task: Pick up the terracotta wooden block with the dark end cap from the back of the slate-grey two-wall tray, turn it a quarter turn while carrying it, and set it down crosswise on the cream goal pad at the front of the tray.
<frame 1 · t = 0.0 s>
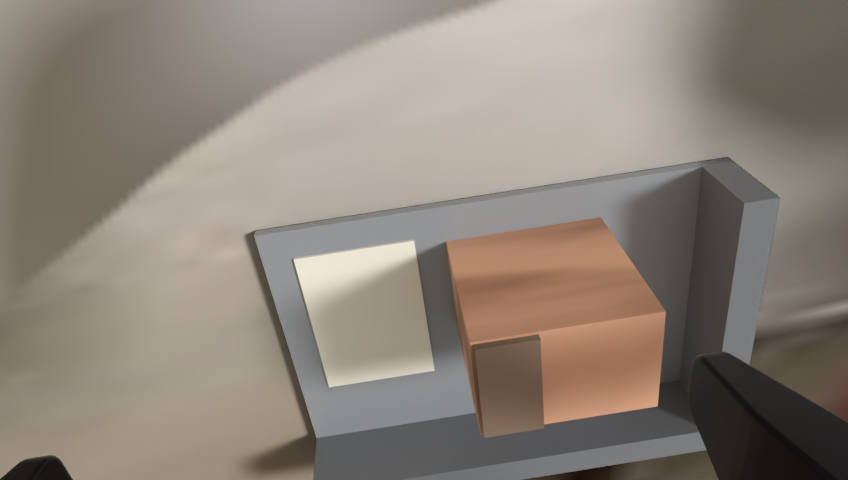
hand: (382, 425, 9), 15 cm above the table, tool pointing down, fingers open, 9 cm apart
two-wall tray: (503, 319, 27), on the table
terracotta block: (525, 272, 25), resting on two-wall tray
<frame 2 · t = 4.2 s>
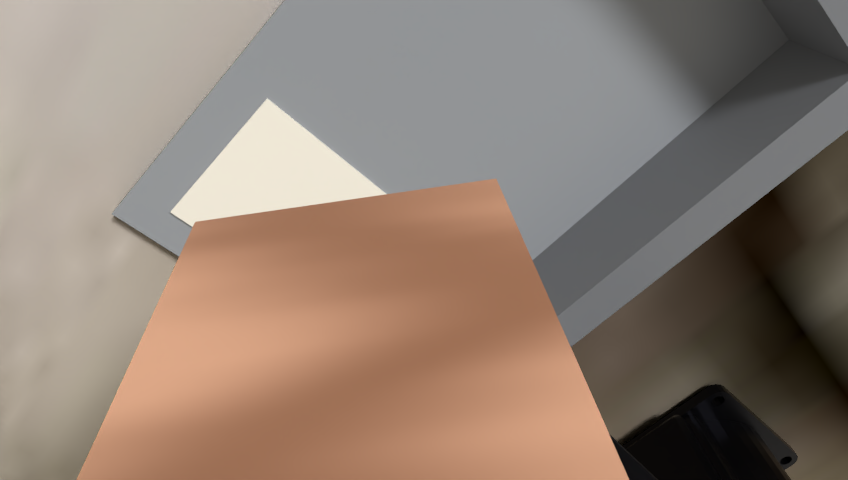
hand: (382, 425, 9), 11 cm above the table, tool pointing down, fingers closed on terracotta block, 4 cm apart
two-wall tray: (470, 122, 19), on the table
terracotta block: (380, 369, 10), point 10 cm above the table, touching gripper
when the fingers open (3 cm above the table, at t = 6.4 s): terracotta block drops 1 cm, resting on two-wall tray.
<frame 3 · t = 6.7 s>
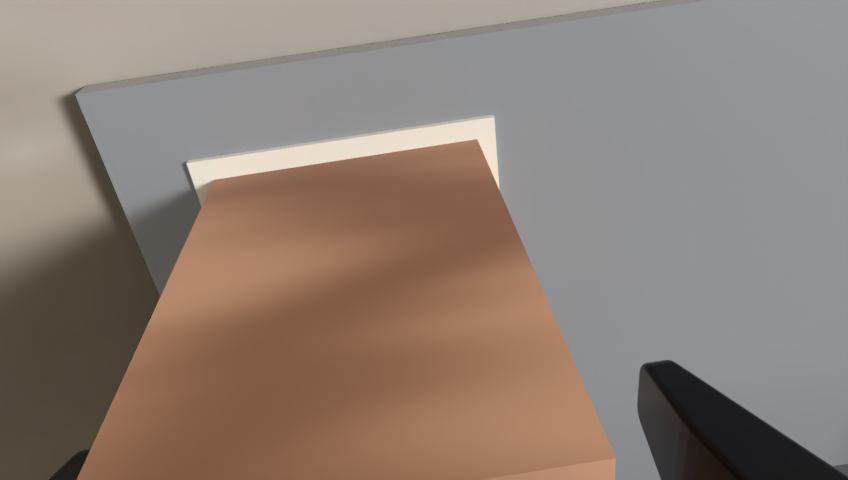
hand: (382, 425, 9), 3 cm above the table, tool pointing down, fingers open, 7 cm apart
two-wall tray: (668, 317, 12), on the table
terracotta block: (378, 316, 11), resting on two-wall tray
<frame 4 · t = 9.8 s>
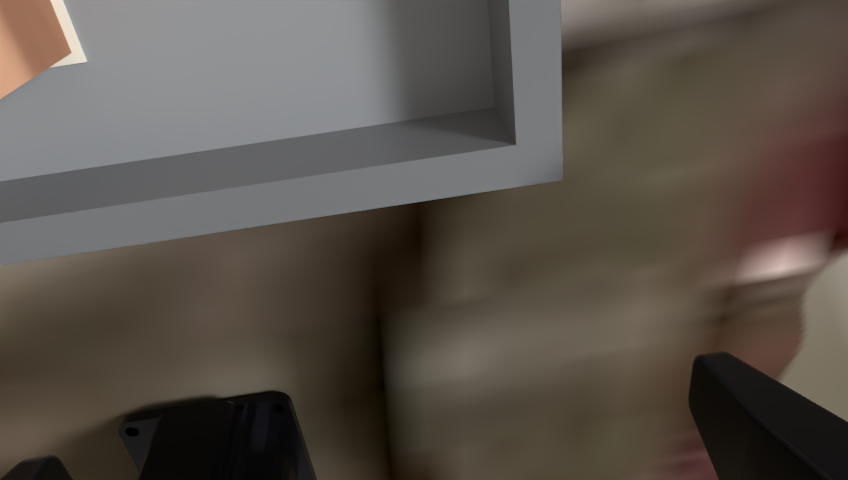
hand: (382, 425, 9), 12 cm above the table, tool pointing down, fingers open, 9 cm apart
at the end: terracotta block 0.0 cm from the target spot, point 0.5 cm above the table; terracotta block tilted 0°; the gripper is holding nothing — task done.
